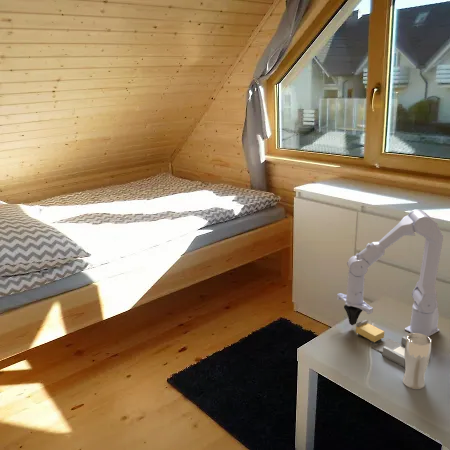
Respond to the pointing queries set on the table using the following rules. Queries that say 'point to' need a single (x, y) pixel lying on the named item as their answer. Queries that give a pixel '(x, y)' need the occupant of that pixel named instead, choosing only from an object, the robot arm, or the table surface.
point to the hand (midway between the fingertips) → (352, 323)
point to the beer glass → (416, 359)
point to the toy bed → (369, 331)
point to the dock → (393, 350)
